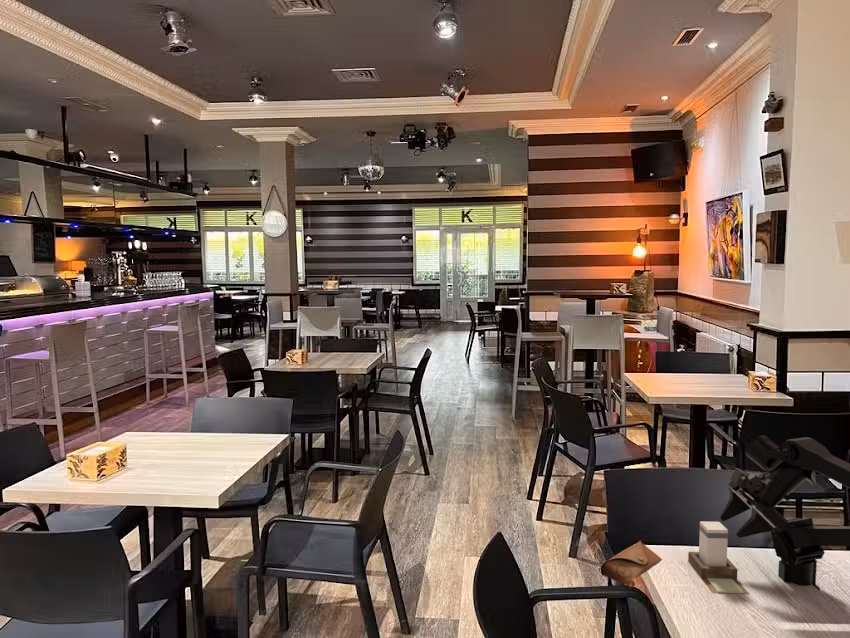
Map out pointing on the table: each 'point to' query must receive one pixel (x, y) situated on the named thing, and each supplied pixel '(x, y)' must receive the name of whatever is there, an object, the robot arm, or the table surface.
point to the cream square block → (713, 544)
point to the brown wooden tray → (714, 572)
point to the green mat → (724, 585)
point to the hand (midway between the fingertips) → (729, 527)
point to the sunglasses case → (630, 564)
